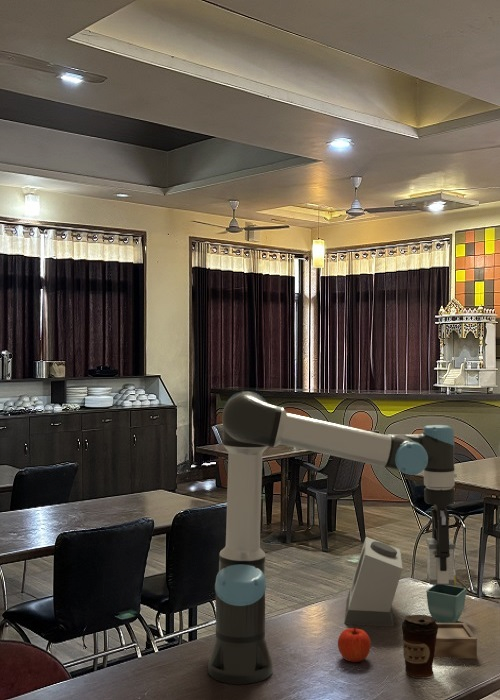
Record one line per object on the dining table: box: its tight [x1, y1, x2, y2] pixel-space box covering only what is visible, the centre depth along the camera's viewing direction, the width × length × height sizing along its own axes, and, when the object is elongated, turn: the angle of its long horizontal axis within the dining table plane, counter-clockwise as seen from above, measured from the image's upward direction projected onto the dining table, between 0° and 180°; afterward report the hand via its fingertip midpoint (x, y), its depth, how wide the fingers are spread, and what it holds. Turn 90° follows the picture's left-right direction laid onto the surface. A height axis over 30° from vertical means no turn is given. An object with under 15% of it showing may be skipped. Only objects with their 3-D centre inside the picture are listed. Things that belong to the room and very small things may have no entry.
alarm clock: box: [343, 536, 403, 627], centre depth 225 cm, size 20×16×20 cm
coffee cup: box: [401, 614, 438, 679], centre depth 183 cm, size 9×8×13 cm
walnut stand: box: [434, 622, 478, 659], centre depth 198 cm, size 11×11×5 cm
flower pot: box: [426, 584, 467, 623], centre depth 218 cm, size 9×9×9 cm
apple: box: [337, 626, 372, 663], centre depth 192 cm, size 8×8×8 cm
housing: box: [426, 537, 455, 585], centre depth 197 cm, size 6×6×10 cm
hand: (441, 578), depth 198 cm, fingers closed on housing, 6 cm apart
